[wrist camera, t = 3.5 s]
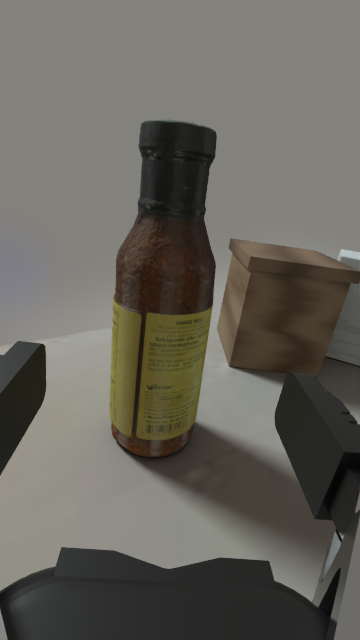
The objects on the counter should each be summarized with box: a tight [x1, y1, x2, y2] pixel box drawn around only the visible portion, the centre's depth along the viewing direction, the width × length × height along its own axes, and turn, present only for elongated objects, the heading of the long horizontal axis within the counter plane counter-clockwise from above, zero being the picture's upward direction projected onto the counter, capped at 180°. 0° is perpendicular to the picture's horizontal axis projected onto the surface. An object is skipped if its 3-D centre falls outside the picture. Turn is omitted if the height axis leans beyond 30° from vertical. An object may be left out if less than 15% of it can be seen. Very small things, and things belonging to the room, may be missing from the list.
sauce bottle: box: [110, 120, 217, 457], centre depth 21 cm, size 7×6×20 cm
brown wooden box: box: [217, 239, 360, 376], centre depth 38 cm, size 11×11×12 cm
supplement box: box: [325, 249, 360, 366], centre depth 41 cm, size 7×7×13 cm
